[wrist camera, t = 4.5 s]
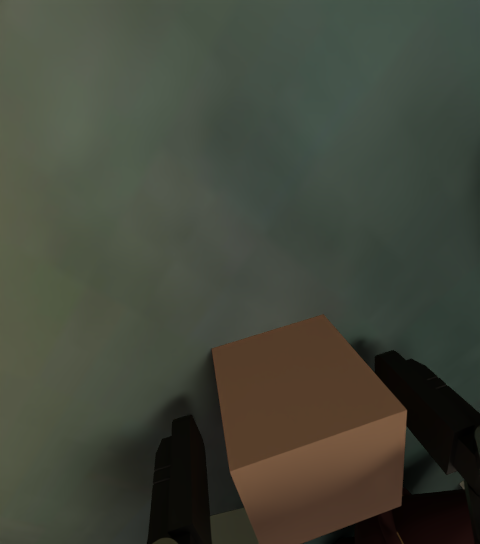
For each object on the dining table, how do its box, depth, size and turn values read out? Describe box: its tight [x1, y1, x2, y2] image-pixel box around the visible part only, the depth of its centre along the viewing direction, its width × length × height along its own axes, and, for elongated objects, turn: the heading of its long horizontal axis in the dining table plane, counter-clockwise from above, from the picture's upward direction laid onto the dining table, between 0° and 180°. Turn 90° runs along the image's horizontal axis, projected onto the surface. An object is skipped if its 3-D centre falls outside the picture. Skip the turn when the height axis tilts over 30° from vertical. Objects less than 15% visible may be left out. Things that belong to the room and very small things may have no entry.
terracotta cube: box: [212, 314, 407, 544], centre depth 11 cm, size 5×5×5 cm
